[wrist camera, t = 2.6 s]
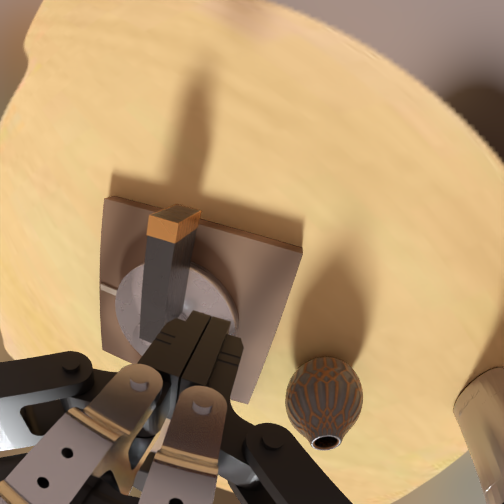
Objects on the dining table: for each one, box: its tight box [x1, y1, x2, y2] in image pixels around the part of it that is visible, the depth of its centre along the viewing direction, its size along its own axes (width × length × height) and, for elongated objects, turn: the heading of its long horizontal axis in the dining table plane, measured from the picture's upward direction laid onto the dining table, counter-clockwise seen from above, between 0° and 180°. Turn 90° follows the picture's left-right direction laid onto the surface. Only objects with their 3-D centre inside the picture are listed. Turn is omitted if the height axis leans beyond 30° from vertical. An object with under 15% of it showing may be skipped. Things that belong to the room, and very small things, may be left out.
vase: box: [285, 357, 363, 450], centre depth 22 cm, size 7×7×9 cm
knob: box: [115, 204, 239, 356], centre depth 21 cm, size 16×11×6 cm
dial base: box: [100, 196, 303, 404], centre depth 25 cm, size 17×17×2 cm
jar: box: [133, 418, 171, 491], centre depth 25 cm, size 9×8×12 cm
